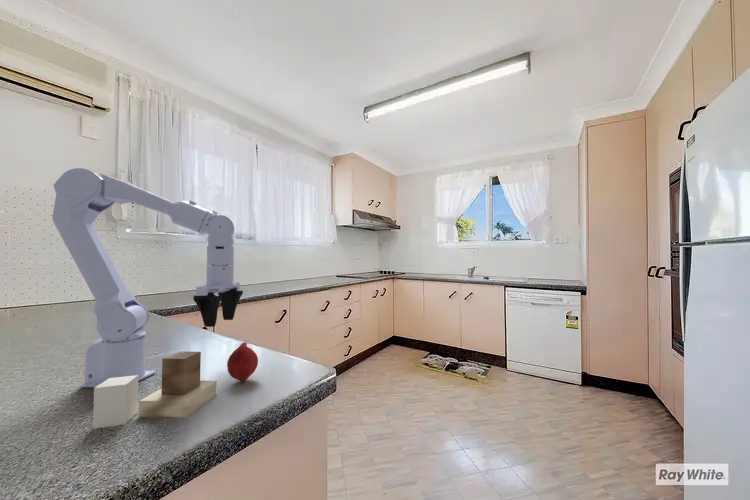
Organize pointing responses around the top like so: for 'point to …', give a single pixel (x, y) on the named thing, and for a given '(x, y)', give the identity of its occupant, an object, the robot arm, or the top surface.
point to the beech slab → (177, 402)
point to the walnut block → (180, 373)
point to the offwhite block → (115, 401)
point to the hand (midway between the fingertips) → (219, 322)
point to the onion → (242, 362)
